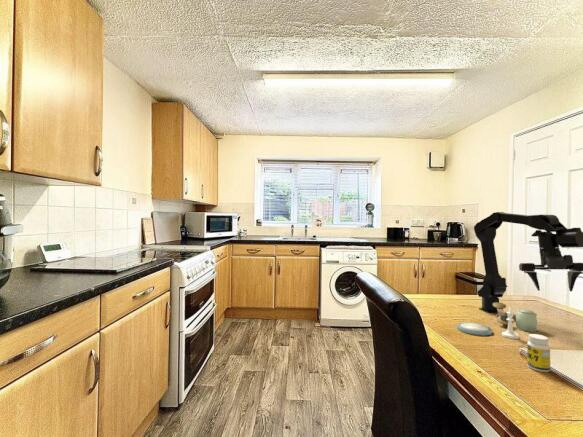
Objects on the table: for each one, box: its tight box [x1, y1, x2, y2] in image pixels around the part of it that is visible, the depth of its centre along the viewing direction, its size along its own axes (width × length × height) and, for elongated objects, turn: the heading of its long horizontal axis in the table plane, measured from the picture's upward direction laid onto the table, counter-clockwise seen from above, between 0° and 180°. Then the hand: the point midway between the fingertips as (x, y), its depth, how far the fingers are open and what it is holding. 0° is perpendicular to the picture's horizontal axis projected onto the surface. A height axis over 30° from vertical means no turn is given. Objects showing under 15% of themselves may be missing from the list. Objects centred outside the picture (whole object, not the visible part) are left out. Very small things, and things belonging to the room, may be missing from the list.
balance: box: [493, 301, 509, 325], centre depth 120 cm, size 17×5×6 cm, turn 152°
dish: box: [456, 322, 493, 337], centre depth 110 cm, size 11×11×1 cm
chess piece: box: [501, 306, 520, 340], centre depth 104 cm, size 5×5×10 cm
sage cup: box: [515, 308, 538, 333], centre depth 112 cm, size 6×6×7 cm
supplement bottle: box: [526, 333, 551, 373], centre depth 81 cm, size 5×5×8 cm
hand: (554, 290), depth 111 cm, fingers open, 9 cm apart
